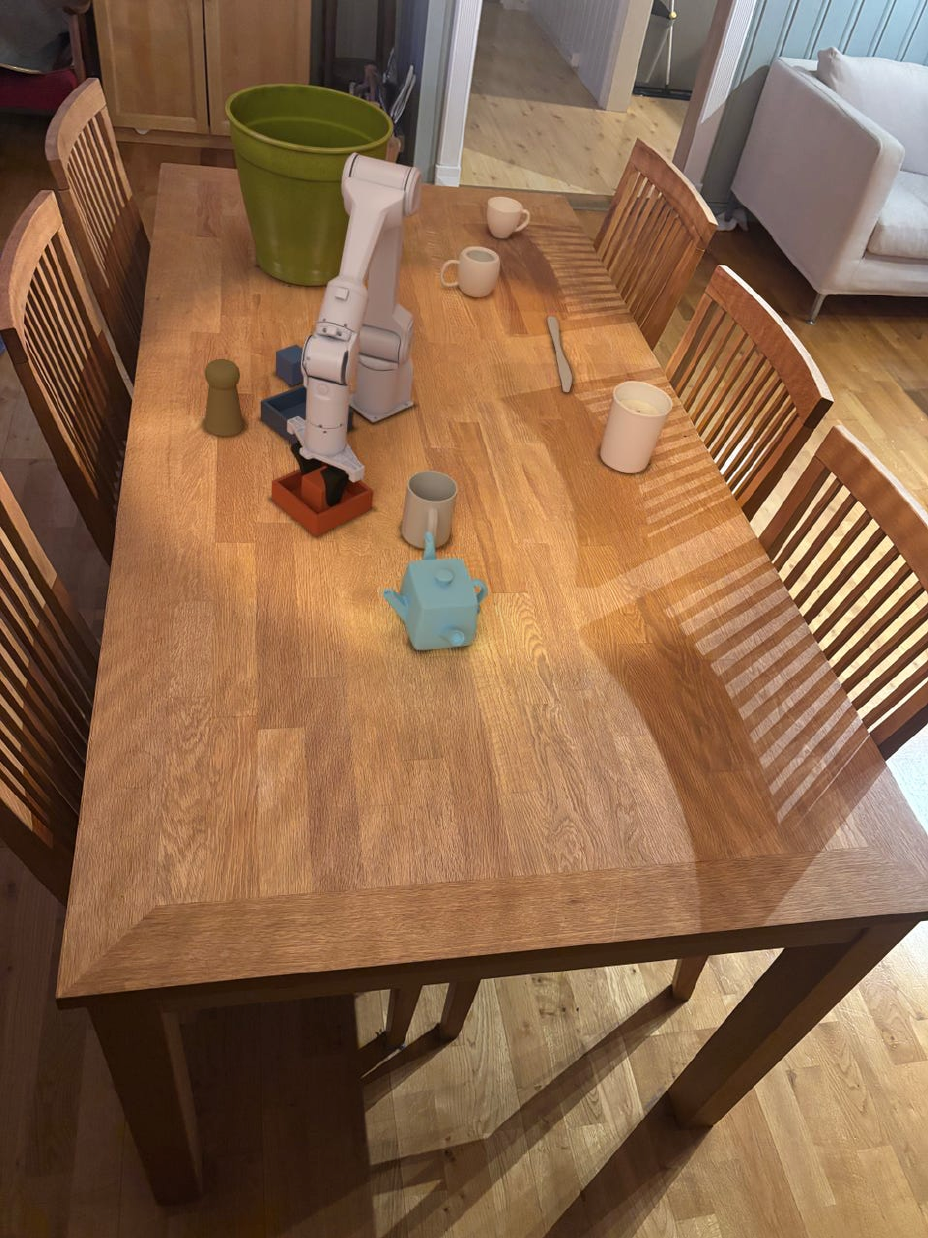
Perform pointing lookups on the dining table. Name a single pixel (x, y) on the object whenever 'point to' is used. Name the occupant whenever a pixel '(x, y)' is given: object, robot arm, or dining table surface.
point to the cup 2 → (505, 216)
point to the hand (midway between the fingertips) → (322, 494)
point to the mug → (475, 271)
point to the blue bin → (289, 411)
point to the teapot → (438, 601)
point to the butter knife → (560, 355)
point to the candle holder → (634, 425)
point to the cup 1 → (428, 507)
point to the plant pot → (300, 172)
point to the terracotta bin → (353, 504)
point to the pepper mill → (223, 398)
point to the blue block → (290, 365)
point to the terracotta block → (315, 491)
